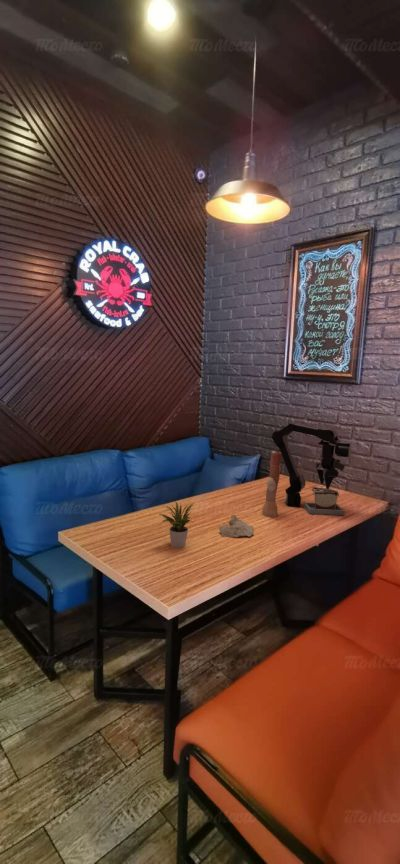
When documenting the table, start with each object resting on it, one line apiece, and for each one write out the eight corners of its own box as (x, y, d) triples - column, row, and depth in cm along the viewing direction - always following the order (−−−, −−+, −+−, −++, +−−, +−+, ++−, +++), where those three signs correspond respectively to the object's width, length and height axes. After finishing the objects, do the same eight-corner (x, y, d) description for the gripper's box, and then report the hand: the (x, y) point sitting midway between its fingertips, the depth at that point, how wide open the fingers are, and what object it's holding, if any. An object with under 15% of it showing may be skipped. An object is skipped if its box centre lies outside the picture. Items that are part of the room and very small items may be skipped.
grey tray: (309, 514, 202) (309, 509, 202) (303, 507, 213) (303, 502, 212) (343, 515, 203) (344, 510, 202) (336, 508, 213) (336, 503, 213)
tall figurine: (270, 518, 194) (275, 453, 190) (257, 514, 199) (262, 450, 195) (283, 513, 201) (288, 451, 197) (271, 509, 206) (275, 448, 202)
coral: (225, 541, 165) (226, 529, 164) (209, 527, 180) (209, 516, 179) (265, 537, 172) (266, 525, 171) (246, 523, 186) (247, 512, 186)
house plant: (178, 533, 170) (180, 493, 168) (205, 543, 161) (207, 501, 159) (152, 543, 159) (154, 501, 157) (180, 554, 150) (182, 510, 148)
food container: (333, 508, 212) (335, 488, 211) (337, 512, 206) (339, 492, 205) (308, 507, 212) (310, 487, 211) (312, 510, 206) (313, 490, 204)
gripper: (351, 459, 196) (347, 492, 198) (337, 451, 214) (334, 482, 216) (327, 458, 195) (324, 491, 198) (315, 450, 214) (313, 481, 216)
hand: (324, 486), depth 207 cm, fingers open, 9 cm apart
